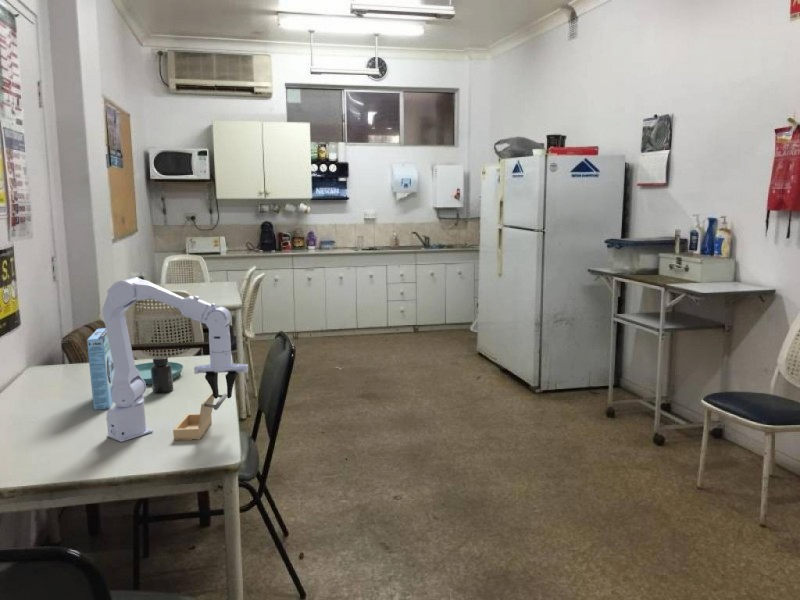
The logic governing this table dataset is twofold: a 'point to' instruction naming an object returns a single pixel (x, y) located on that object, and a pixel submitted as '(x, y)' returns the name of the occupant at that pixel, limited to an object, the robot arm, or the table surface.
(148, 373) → the saucer
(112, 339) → the robot arm
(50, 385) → the table surface
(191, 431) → the carton
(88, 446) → the table surface
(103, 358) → the gum box
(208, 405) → the lid
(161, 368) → the supplement bottle
